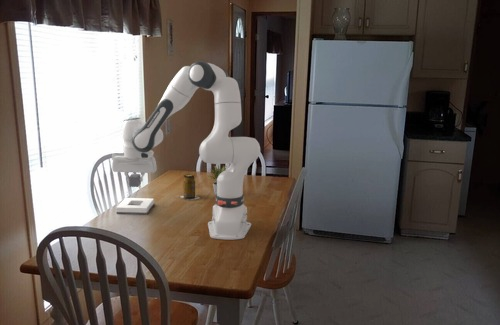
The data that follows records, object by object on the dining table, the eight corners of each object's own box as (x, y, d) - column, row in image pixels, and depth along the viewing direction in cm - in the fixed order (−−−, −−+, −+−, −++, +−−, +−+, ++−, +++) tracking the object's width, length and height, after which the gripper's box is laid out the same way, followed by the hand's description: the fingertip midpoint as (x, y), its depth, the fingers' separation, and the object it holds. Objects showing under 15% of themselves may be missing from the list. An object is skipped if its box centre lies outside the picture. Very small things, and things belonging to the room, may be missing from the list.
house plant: (229, 200, 226) (229, 169, 222) (203, 198, 229) (203, 167, 225) (235, 192, 240) (236, 163, 236) (211, 190, 242) (211, 161, 238)
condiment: (191, 194, 235) (191, 172, 232) (200, 198, 229) (200, 176, 226) (179, 196, 230) (179, 174, 228) (188, 201, 224) (188, 178, 221)
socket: (146, 214, 205) (146, 208, 204) (116, 213, 205) (116, 207, 204) (153, 204, 218) (153, 198, 218) (125, 203, 218) (125, 197, 218)
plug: (137, 187, 207) (137, 176, 206) (129, 186, 207) (128, 176, 206) (140, 183, 212) (140, 173, 211) (132, 183, 212) (132, 173, 211)
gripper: (109, 153, 203) (110, 182, 206) (153, 154, 202) (154, 183, 206) (113, 150, 209) (115, 178, 212) (156, 151, 208) (157, 179, 212)
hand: (135, 181), depth 209 cm, fingers closed on plug, 4 cm apart
